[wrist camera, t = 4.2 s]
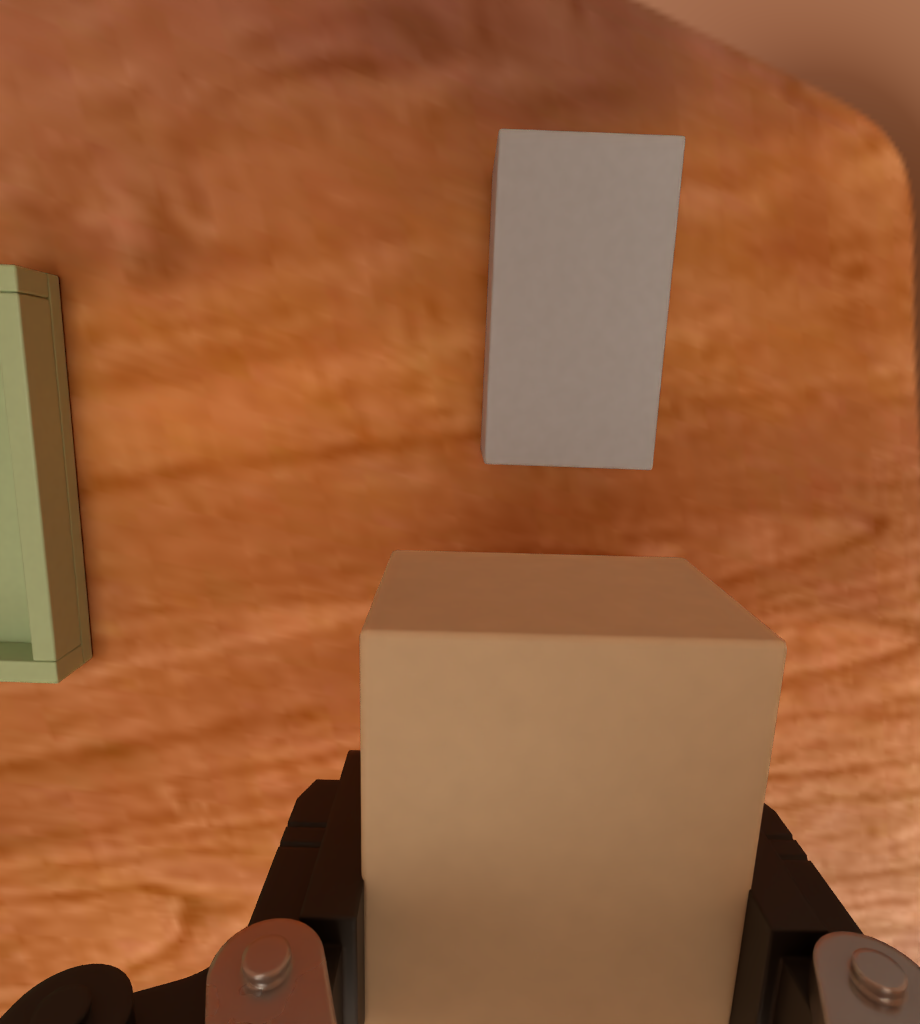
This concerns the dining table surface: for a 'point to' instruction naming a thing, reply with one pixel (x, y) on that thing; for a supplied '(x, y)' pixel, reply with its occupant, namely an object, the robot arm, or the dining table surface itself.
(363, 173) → the dining table surface
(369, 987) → the cream pad
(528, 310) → the blue-grey pad
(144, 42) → the dining table surface
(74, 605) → the tray
